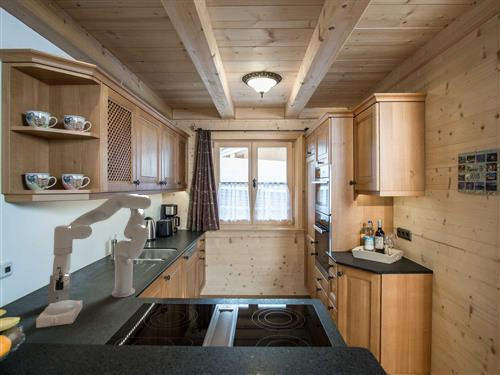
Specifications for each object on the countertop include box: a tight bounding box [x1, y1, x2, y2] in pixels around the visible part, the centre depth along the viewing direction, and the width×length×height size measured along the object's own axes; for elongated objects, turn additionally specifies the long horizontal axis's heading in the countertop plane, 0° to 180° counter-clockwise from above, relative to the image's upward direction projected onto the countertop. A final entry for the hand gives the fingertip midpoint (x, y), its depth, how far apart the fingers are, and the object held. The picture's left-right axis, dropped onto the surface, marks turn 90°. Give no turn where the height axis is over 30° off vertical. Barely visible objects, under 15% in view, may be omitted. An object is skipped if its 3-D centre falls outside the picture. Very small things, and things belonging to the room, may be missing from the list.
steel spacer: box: [54, 272, 71, 292], centre depth 127 cm, size 6×6×7 cm
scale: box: [35, 299, 83, 328], centre depth 126 cm, size 17×14×5 cm
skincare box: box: [46, 274, 72, 306], centre depth 140 cm, size 8×7×16 cm
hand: (61, 287), depth 127 cm, fingers closed on steel spacer, 6 cm apart
